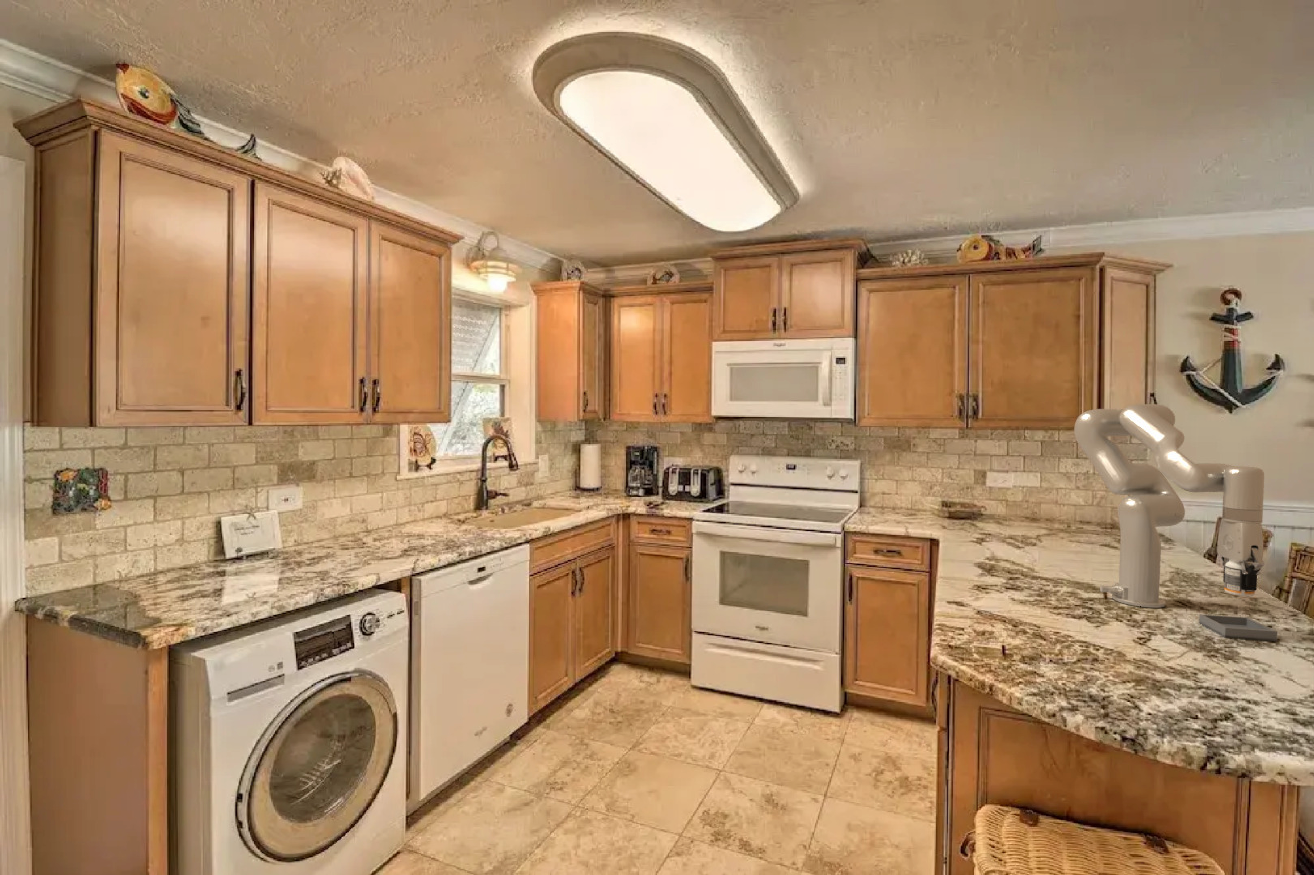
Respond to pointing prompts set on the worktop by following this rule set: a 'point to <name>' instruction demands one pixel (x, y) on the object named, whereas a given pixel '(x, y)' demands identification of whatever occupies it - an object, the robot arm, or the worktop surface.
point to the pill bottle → (1235, 579)
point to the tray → (1238, 627)
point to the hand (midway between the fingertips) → (1239, 585)
